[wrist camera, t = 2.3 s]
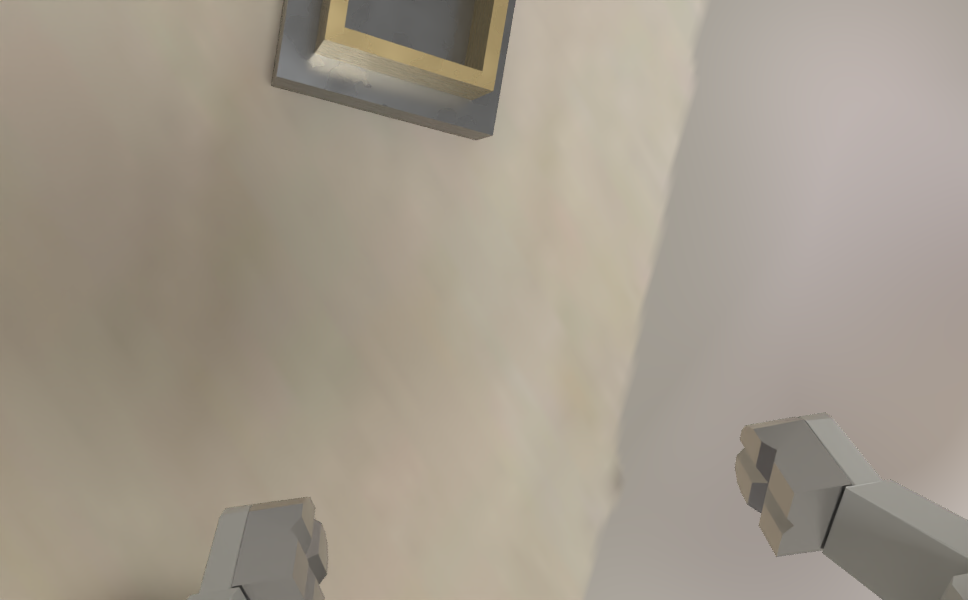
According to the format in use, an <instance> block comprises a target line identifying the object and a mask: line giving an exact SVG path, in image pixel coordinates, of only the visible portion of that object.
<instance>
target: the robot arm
mask: <svg viewBox="0 0 968 600" xmlns="http://www.w3.org/2000/svg"><path fill="white" fill-rule="evenodd" d="M740 441H741V442H742V444H743V446H744V447H745V448H744V449H743V450H742V451H741V452H740V453H739V454H738V455H737V457H736V464H735V471H736V477H737V483H738V485H739V488H740V491H741V493H742V495H743V497H744V499H745V501H746V503H747V505H749V506H750V507H752V508H754V509H755V510H757V511H758V512H760V513H761V517H760V522H759V526H760V528H761V530H762V532H763V534H764V536H765V537H766V539H767V541H768V542H769V544H770V546H771V548H772V550H773V552H774V553H775V555H776V557H779V556H786V555H793V554H800V553H807V552H815V551H821V550H823V552H822V553H823V554H824V555H826V556H827V557H828V558H829V559H831V560H832V561H833V562H835V563H836V564H837V565H838V566H840V567H841V568H842V569H844V570H845V571H846V572H848V573H849V574H850V575H851V576H853V577H854V578H855V579H857V580H858V581H859V582H861V583H862V584H863V585H864V586H866V587H867V588H868V589H870V590H871V591H872V592H874V593H875V594H876V595H877V596H879V597H880V598H881V599H882V600H968V520H967V519H965V518H963V517H961V516H959V515H957V514H955V513H953V512H952V511H950V510H948V509H946V508H944V507H942V506H940V505H938V504H936V503H935V502H932V501H931V500H929V499H927V498H925V497H923V496H921V495H920V494H918V493H916V492H914V491H912V490H910V489H908V488H906V487H904V486H903V485H901V484H899V483H897V482H895V481H893V480H891V479H890V480H882V479H881V477H880V476H879V475H878V474H877V472H876V471H875V470H874V469H873V467H872V466H871V465H870V464H869V462H868V461H867V460H866V459H865V458H864V456H863V455H862V454H861V453H860V451H859V450H858V449H857V448H856V446H855V445H854V444H853V443H852V441H851V440H850V439H849V438H848V436H847V435H846V434H845V433H844V431H843V430H842V429H841V428H840V426H839V425H838V424H837V423H836V422H835V420H834V419H833V418H832V416H830V415H828V414H827V413H818V414H812V415H806V416H800V417H790V418H785V419H779V420H773V421H768V422H762V423H756V424H751V425H746V426H745V427H744V428H743V429H742V432H741V437H740ZM314 515H315V506H314V504H313V502H312V500H311V498H310V497H303V498H295V499H288V500H281V501H273V502H266V503H258V504H252V505H245V506H238V507H232V508H225V510H224V511H223V513H222V514H221V516H220V517H219V521H218V525H217V528H216V532H215V536H214V539H213V543H212V547H211V550H210V554H209V557H208V561H207V565H206V568H205V572H204V576H203V579H202V583H201V587H200V590H199V593H198V594H193V595H190V596H189V597H188V598H187V599H186V600H325V597H324V595H323V593H322V590H321V588H320V586H319V584H320V583H321V581H322V580H323V579H324V577H325V576H326V575H327V568H328V545H327V539H326V534H325V530H324V528H323V525H322V523H321V522H319V521H317V520H315V519H314Z"/></svg>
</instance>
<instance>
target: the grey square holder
mask: <svg viewBox="0 0 968 600" xmlns="http://www.w3.org/2000/svg"><path fill="white" fill-rule="evenodd" d="M515 1H516V0H284V5H283V12H282V19H281V25H280V32H279V39H278V45H277V52H276V58H275V65H274V72H273V78H272V85H271V86H275V87H278V88H282V89H286V90H290V91H293V92H297V93H301V94H305V95H308V96H312V97H316V98H320V99H323V100H327V101H331V102H335V103H338V104H342V105H346V106H350V107H353V108H357V109H361V110H365V111H368V112H372V113H376V114H380V115H383V116H387V117H391V118H395V119H398V120H402V121H406V122H410V123H413V124H417V125H421V126H425V127H428V128H432V129H436V130H440V131H443V132H447V133H451V134H455V135H458V136H462V137H466V138H470V139H473V140H478V139H482V138H485V137H489V136H493V131H494V125H495V119H496V113H497V107H498V101H499V95H500V89H501V84H502V78H503V72H504V66H505V60H506V54H507V48H508V42H509V36H510V30H511V25H512V19H513V13H514V7H515Z"/></svg>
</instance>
